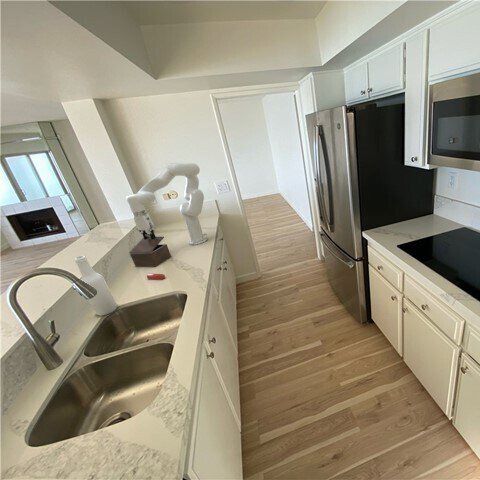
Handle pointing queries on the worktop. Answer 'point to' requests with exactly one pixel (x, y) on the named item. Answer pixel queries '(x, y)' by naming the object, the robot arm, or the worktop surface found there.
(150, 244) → the bin lid
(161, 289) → the worktop surface
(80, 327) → the worktop surface
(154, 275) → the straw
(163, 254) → the bin
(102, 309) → the alcohol
